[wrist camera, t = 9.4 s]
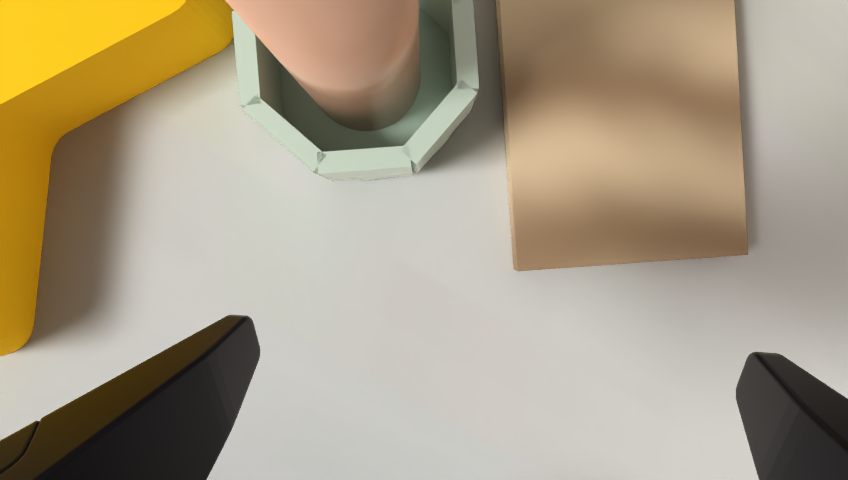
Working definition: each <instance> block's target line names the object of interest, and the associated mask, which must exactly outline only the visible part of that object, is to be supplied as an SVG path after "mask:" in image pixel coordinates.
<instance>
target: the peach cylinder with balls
mask: <svg viewBox="0 0 848 480" xmlns="http://www.w3.org/2000/svg"><path fill="white" fill-rule="evenodd" d="M225 1H226V2H227V3H228V4H229V5H230V6H231V7H232V9H233V10H234V11H235V12H236V13H237V14H238V15H239V16H240V18H241V19H242V20H243V21H244V22H245V23H246V24H247V25H248V27H249V28H250V29H251V30H252V31H253V32H254V33H255V35H256V36H257V37H258V38H259V39H260V40H261V41H262V42H263V44H264V45H265V46H266V47H267V48H268V49H269V50H270V51H271V53H272V54H273V55H274V56H275V57H276V58H277V59H278V61H279V62H280V63H281V64H282V65H283V66H284V67H285V68H286V70H287V71H288V72H289V73H290V74H291V75H292V76H293V77H294V79H295V80H296V81H297V82H298V83H299V84H300V85H301V87H302V88H303V89H304V90H305V91H306V92H307V93H308V94H309V96H310V97H311V98H312V99H313V100H314V101H315V102H316V103H317V105H318V106H319V107H320V108H321V109H322V110H323V111H324V112H325V113H326V115H327V116H328V117H330V118H331V119H332V120H333V121H335V122H336V123H338V124H340V125H341V126H344V127H346V128H349V129H352V130H357V131H375V130H379V129H383V128H386V127H388V126H390V125H392V124H394V123H396V122H397V121H398V120H400V119H401V118H402V117H403V116H404V115H405V114H406V113H407V112H408V111H409V109H410V108H411V107H412V105H413V103H414V102H415V100H416V97H417V95H418V92H419V88H420V82H421V62H420V32H419V3H418V0H225Z"/></svg>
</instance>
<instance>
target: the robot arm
mask: <svg viewBox="0 0 848 480" xmlns="http://www.w3.org/2000/svg"><path fill="white" fill-rule="evenodd" d="M259 357H260V346H259V342H258V338H257V335H256V331H255V327H254V324H253V321H252V319H251V318H250V317H248V316H243V315H228V316H226V317H224V318H222V319H221V320H219V321H217V322H215V323H213V324H212V325H210V326H208V327H206V328H204V329H202V330H201V331H199V332H197V333H195V334H193V335H192V336H190V337H188V338H186V339H184V340H183V341H181V342H179V343H177V344H175V345H173V346H172V347H170V348H168V349H166V350H164V351H163V352H161V353H159V354H157V355H155V356H153V357H152V358H150V359H148V360H146V361H144V362H143V363H141V364H139V365H137V366H135V367H133V368H132V369H130V370H128V371H126V372H124V373H123V374H121V375H119V376H117V377H115V378H113V379H112V380H110V381H108V382H106V383H104V384H103V385H101V386H99V387H97V388H95V389H94V390H92V391H90V392H88V393H86V394H84V395H83V396H81V397H79V398H77V399H75V400H74V401H72V402H70V403H68V404H66V405H64V406H63V407H61V408H59V409H57V410H55V411H54V412H52V413H50V414H48V415H46V416H44V417H43V418H42V419H41V420H40V421H35V422H33V423H32V424H30V425H28V426H26V427H24V428H23V429H21V430H19V431H17V432H15V433H14V434H12V435H10V436H8V437H6V438H4V439H2V440H1V441H0V480H206V479H207V477H208V475H209V474H210V472H211V470H212V468H213V466H214V464H215V462H216V460H217V458H218V456H219V454H220V452H221V450H222V448H223V446H224V444H225V442H226V440H227V438H228V436H229V434H230V432H231V430H232V427H233V425H234V423H235V420H236V418H237V415H238V413H239V410H240V408H241V405H242V402H243V400H244V397H245V395H246V392H247V389H248V387H249V384H250V382H251V379H252V376H253V374H254V371H255V369H256V366H257V363H258V361H259ZM736 400H737V404H738V408H739V411H740V415H741V418H742V422H743V425H744V429H745V432H746V436H747V439H748V443H749V446H750V450H751V453H752V457H753V460H754V464H755V467H756V471H757V474H758V477H759V480H848V399H847V398H845V397H844V396H842V395H841V394H839V393H838V392H836V391H835V390H833V389H832V388H830V387H829V386H827V385H826V384H824V383H823V382H821V381H820V380H818V379H817V378H815V377H814V376H812V375H811V374H809V373H808V372H806V371H805V370H803V369H802V368H800V367H799V366H797V365H796V364H794V363H793V362H791V361H790V360H788V359H787V358H785V357H784V356H782V355H780V354H777V353H765V352H753V353H751V354H750V355H749V356H748V358H747V360H746V362H745V365H744V368H743V370H742V373H741V376H740V379H739V381H738V384H737V387H736Z"/></svg>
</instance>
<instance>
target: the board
mask: <svg viewBox="0 0 848 480" xmlns="http://www.w3.org/2000/svg"><path fill="white" fill-rule="evenodd" d="M496 12H497V26H498V41H499V56H500V71H501V86H502V101H503V116H504V130H505V145H506V160H507V175H508V190H509V205H510V220H511V234H512V249H513V264H514V269H515V270H517V271H527V270H541V269H555V268H569V267H583V266H597V265H611V264H625V263H639V262H653V261H667V260H680V259H694V258H708V257H722V256H736V255H748V244H747V225H746V207H745V188H744V170H743V151H742V133H741V114H740V96H739V77H738V59H737V40H736V22H735V3H734V0H496Z"/></svg>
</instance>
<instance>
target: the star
mask: <svg viewBox="0 0 848 480" xmlns="http://www.w3.org/2000/svg"><path fill="white" fill-rule="evenodd" d="M232 11H234V10H233V9H232V7H231V6H230V5H229V4H228V3H227V2H226V1H225V0H0V356H3V355H6V354H10V353H12V352H15V351H17V350H18V349H20V348H21V347H23V346H24V345H25V344H26V343H27V341H28V340H29V338H30V336H31V334H32V331H33V327H34V319H35V310H36V300H37V290H38V281H39V271H40V262H41V252H42V243H43V233H44V224H45V214H46V204H47V195H48V185H49V176H50V166H51V157H52V152H53V149H54V147H55V145H56V143H57V142H58V141H59V139H60V138H61V137H62V136H63V135H64V134H66V133H67V132H69V131H71V130H73V129H75V128H77V127H78V126H80V125H82V124H84V123H86V122H88V121H90V120H92V119H94V118H96V117H97V116H99V115H101V114H103V113H105V112H107V111H109V110H111V109H113V108H114V107H116V106H118V105H120V104H122V103H124V102H126V101H128V100H130V99H132V98H133V97H135V96H137V95H139V94H141V93H143V92H145V91H147V90H149V89H151V88H152V87H154V86H156V85H158V84H160V83H162V82H164V81H166V80H168V79H170V78H171V77H173V76H175V75H177V74H179V73H181V72H183V71H185V70H187V69H188V68H190V67H192V66H194V65H196V64H198V63H200V62H202V61H204V60H206V59H207V58H209V57H211V56H213V55H215V54H217V53H219V52H220V51H222V50H223V49H225V48H226V47H227V46H228V45H229V44H230V42H231V41H232V39H233V37H234V33H233V21H232Z"/></svg>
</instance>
